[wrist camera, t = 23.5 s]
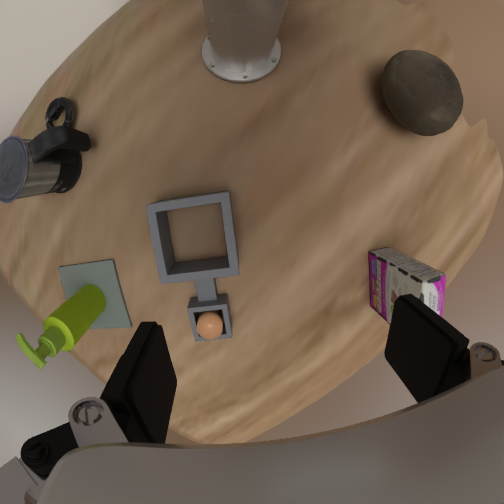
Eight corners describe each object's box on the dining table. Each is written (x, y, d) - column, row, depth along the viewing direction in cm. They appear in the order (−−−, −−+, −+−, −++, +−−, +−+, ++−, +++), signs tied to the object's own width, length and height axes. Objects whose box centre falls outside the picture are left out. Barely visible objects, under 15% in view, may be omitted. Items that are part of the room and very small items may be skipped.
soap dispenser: (86, 273, 42) (20, 327, 22) (112, 302, 43) (58, 368, 24) (71, 291, 42) (10, 346, 23) (95, 318, 44) (44, 383, 25)
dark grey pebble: (422, 80, 37) (472, 62, 22) (426, 146, 40) (482, 142, 26) (361, 59, 36) (405, 25, 21) (364, 130, 39) (416, 114, 25)
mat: (59, 266, 42) (57, 267, 41) (113, 258, 42) (112, 259, 42) (78, 327, 45) (77, 328, 45) (132, 325, 46) (131, 327, 45)
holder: (157, 201, 40) (145, 204, 34) (229, 190, 41) (228, 192, 35) (183, 330, 46) (178, 349, 41) (247, 323, 47) (248, 342, 41)
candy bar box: (390, 299, 48) (439, 341, 32) (369, 306, 48) (414, 352, 32) (390, 244, 45) (448, 274, 29) (367, 250, 45) (422, 283, 29)
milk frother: (61, 204, 39) (7, 217, 25) (24, 149, 35) (-27, 148, 21) (109, 143, 37) (59, 132, 23) (67, 91, 33) (19, 70, 19)
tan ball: (196, 309, 43) (194, 318, 40) (220, 307, 43) (220, 316, 40) (201, 330, 44) (199, 340, 41) (224, 328, 44) (224, 338, 41)
